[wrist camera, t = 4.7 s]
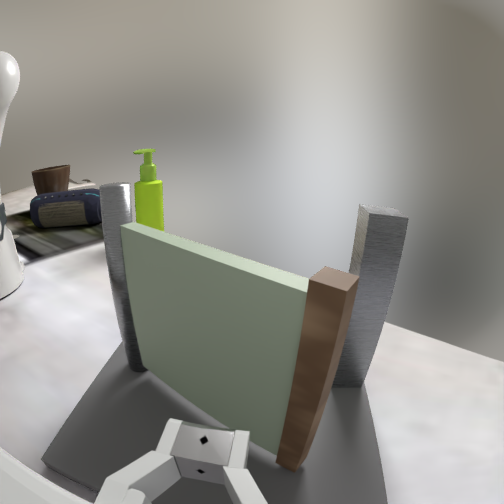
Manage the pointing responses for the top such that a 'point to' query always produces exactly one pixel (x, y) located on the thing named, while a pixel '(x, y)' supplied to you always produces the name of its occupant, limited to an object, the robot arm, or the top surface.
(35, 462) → the top surface
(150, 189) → the soap dispenser
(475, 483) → the top surface
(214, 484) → the gate frame
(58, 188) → the plant pot
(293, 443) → the gate leaf
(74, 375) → the top surface
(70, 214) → the portable speaker
